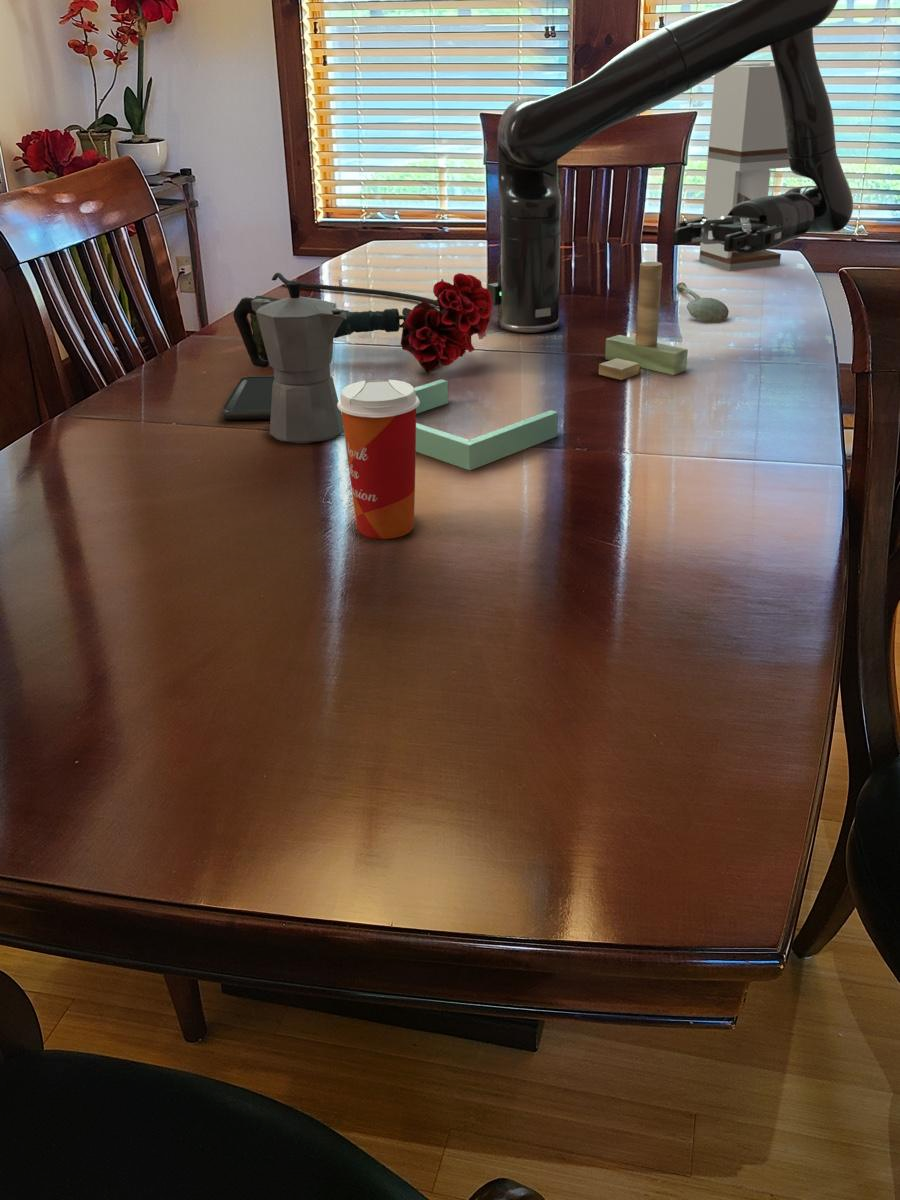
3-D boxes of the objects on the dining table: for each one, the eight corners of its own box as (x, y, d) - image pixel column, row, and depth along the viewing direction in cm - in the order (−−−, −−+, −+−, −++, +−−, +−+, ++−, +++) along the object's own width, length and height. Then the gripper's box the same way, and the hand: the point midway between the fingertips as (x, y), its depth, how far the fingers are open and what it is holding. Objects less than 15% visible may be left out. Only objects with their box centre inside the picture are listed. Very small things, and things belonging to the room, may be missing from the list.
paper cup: (346, 513, 110) (336, 379, 103) (421, 509, 110) (416, 375, 103) (346, 546, 103) (335, 405, 96) (426, 542, 103) (421, 401, 97)
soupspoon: (690, 327, 173) (731, 327, 173) (693, 306, 171) (734, 306, 171) (662, 291, 192) (699, 291, 192) (665, 272, 190) (701, 272, 190)
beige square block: (616, 368, 152) (616, 357, 151) (639, 373, 149) (639, 363, 149) (598, 374, 149) (598, 363, 149) (621, 380, 147) (622, 369, 146)
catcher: (442, 401, 141) (441, 378, 139) (557, 436, 128) (558, 412, 127) (354, 430, 132) (353, 406, 130) (469, 470, 119) (469, 445, 118)
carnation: (269, 409, 163) (499, 396, 160) (231, 357, 145) (490, 341, 142) (271, 314, 167) (497, 299, 163) (235, 251, 149) (488, 233, 145)
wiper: (617, 354, 158) (622, 256, 151) (686, 370, 150) (694, 267, 143) (604, 359, 156) (609, 259, 149) (673, 375, 148) (681, 271, 142)
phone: (220, 411, 135) (242, 376, 148) (221, 420, 136) (243, 384, 149) (282, 410, 135) (299, 375, 148) (283, 419, 136) (299, 383, 149)
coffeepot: (373, 425, 133) (364, 276, 124) (334, 450, 125) (321, 294, 117) (268, 411, 139) (253, 268, 130) (225, 434, 131) (205, 284, 123)
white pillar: (729, 270, 206) (749, 67, 190) (699, 260, 215) (715, 65, 198) (779, 264, 210) (803, 64, 193) (747, 255, 218) (767, 62, 202)
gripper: (723, 193, 165) (660, 208, 155) (808, 201, 156) (747, 217, 146) (719, 244, 168) (657, 261, 159) (802, 255, 159) (741, 274, 150)
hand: (700, 240), depth 152 cm, fingers open, 8 cm apart
